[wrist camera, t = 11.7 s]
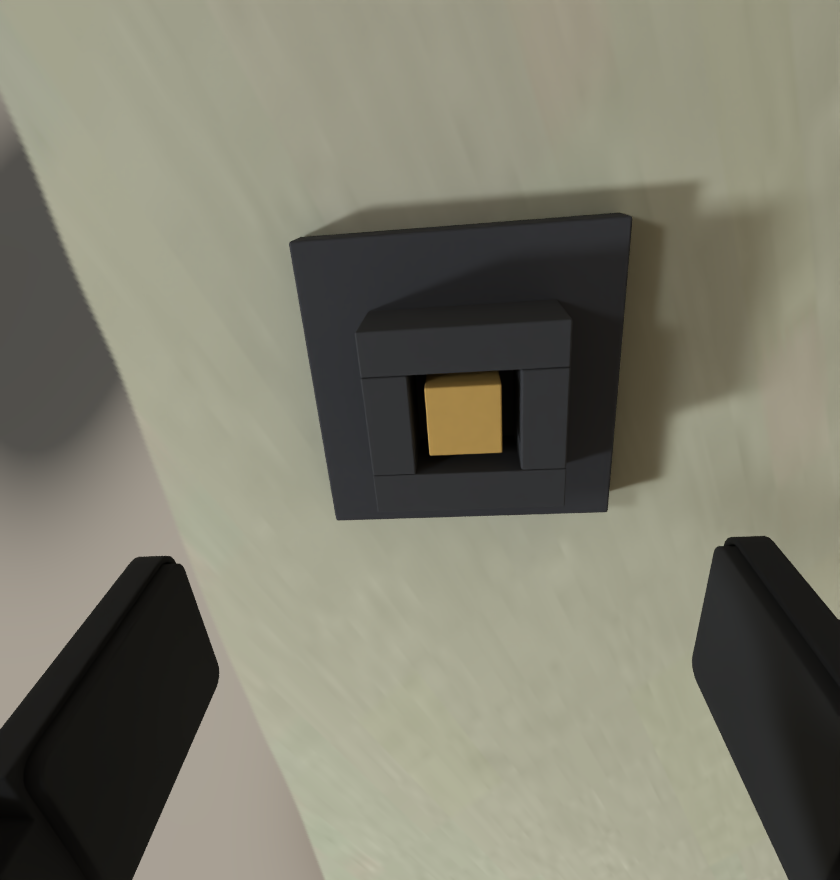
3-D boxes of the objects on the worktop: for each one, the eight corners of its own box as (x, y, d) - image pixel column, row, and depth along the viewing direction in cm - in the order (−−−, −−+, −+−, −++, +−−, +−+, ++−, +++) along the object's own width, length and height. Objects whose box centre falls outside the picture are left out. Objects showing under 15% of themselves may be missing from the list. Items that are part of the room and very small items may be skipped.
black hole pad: (367, 310, 21) (353, 332, 18) (557, 298, 20) (573, 318, 17) (386, 473, 24) (377, 512, 21) (552, 467, 23) (564, 506, 20)
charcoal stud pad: (298, 236, 21) (261, 253, 17) (621, 212, 20) (663, 223, 16) (342, 503, 26) (321, 563, 22) (599, 494, 25) (627, 556, 21)
